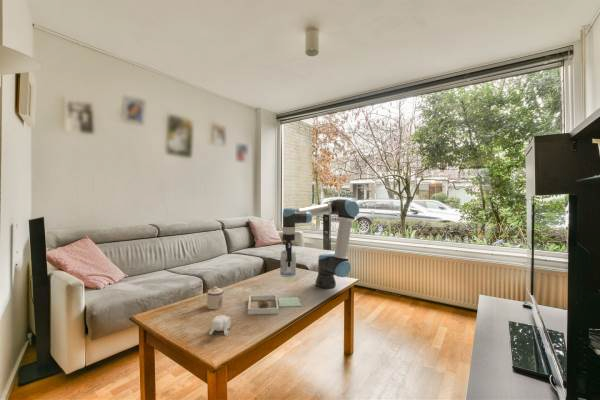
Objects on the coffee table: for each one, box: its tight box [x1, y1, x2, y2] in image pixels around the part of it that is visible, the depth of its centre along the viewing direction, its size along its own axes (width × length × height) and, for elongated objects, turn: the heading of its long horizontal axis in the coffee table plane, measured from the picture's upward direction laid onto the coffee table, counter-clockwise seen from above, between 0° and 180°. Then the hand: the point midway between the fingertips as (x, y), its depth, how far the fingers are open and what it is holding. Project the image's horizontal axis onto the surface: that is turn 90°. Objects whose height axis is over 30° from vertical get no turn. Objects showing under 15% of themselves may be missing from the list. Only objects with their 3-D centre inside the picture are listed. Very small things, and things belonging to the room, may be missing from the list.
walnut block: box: [257, 300, 269, 308], centre depth 156 cm, size 5×5×5 cm
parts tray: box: [247, 294, 280, 316], centre depth 162 cm, size 17×21×3 cm
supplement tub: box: [279, 250, 297, 278], centre depth 169 cm, size 10×10×15 cm
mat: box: [277, 297, 302, 308], centre depth 169 cm, size 13×13×1 cm
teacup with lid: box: [206, 285, 224, 310], centre depth 161 cm, size 12×9×12 cm
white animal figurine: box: [208, 314, 232, 337], centre depth 130 cm, size 9×8×15 cm
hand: (288, 269), depth 169 cm, fingers closed on supplement tub, 10 cm apart
